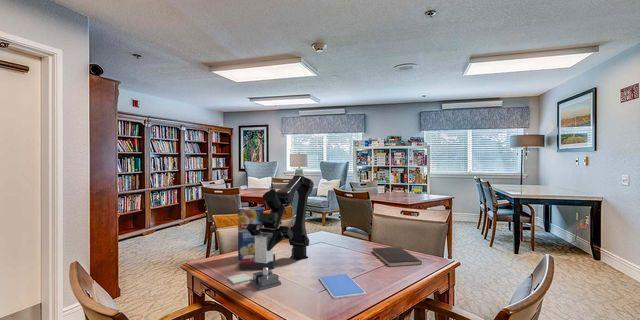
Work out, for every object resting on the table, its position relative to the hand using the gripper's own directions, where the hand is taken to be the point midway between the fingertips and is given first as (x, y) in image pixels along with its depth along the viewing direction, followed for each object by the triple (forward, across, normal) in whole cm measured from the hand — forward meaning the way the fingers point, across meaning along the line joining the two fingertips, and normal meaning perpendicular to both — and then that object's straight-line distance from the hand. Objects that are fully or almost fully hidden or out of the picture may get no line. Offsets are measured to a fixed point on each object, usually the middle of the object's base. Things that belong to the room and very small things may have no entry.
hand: (261, 250), depth 120 cm
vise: (+8, +1, +10) cm, 14 cm away
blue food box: (-10, -23, +30) cm, 39 cm away
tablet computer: (+4, +29, +16) cm, 33 cm away
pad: (+8, -11, +11) cm, 18 cm away
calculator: (-3, -13, +23) cm, 27 cm away
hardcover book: (-26, +44, +46) cm, 69 cm away
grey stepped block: (+3, 0, +3) cm, 5 cm away
